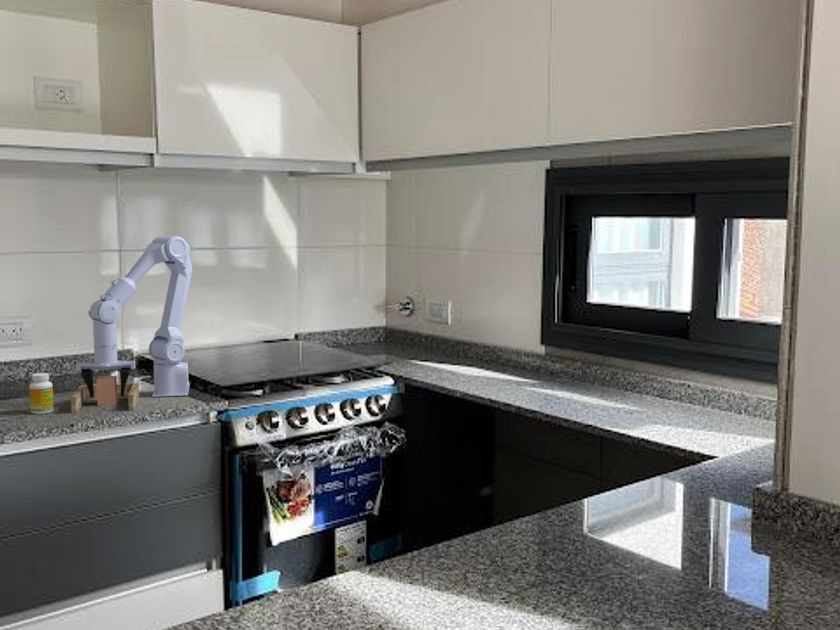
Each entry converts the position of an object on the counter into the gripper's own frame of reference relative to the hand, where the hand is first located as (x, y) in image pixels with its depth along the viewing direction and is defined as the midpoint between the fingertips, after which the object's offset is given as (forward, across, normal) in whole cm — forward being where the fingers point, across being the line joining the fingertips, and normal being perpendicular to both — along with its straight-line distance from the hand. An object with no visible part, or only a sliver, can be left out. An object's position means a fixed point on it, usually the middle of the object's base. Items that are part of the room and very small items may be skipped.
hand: (107, 396), depth 232 cm
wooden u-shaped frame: (+2, 0, -2) cm, 3 cm away
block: (+2, 0, 0) cm, 2 cm away
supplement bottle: (+2, -15, -7) cm, 17 cm away
